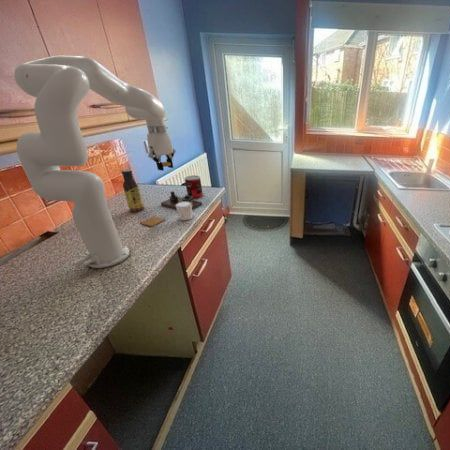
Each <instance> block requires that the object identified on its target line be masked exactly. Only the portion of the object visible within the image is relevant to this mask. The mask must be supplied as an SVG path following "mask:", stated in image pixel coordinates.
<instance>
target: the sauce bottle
mask: <svg viewBox="0 0 450 450" xmlns="http://www.w3.org/2000/svg"><path fill="white" fill-rule="evenodd" d="M121 175H122V177H123V183H122V187H123V192H124V196H125V199H126V203H127V206H128V208H129V211H130V212H135V213H136V212H141V211H142V210H143V209H145V207H144V202H143V198H142V195H141V191H140V187H139V185H138V184H137V182H136V180H135V179H134V176H133V171H132V169H122V170H121Z"/></svg>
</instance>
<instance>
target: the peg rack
mask: <svg viewBox="0 0 450 450" xmlns="http://www.w3.org/2000/svg"><path fill="white" fill-rule="evenodd" d="M169 193H170V196H169V197H168V198H169V199H166V200H163V201H162V202H160V205H161V206H163V207H167V208H170V209H175V210H177V209H176V206H175V205H176V204H177V203H179V202H185V201H182V197H181V196H178V195H177V194H175V191H174V190H171V191H170V192H169ZM184 197H185V198H186V199H189V195H188V194H184ZM187 202H191V205H192V211H193V210H194V209H197V208H198V207H200V206H202V205H203V202H202V201H198V200H194V199H193V200H191V201H187Z"/></svg>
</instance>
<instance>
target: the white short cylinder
mask: <svg viewBox="0 0 450 450" xmlns="http://www.w3.org/2000/svg"><path fill="white" fill-rule="evenodd" d="M175 206H176V209H175V210H176V212H177V214H178V217H179V220H181V221H188V220H191V219H192V218H193V210H192V205H191V202H186V201H185V202H179V203H177V204H176V205H175Z"/></svg>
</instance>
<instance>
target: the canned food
mask: <svg viewBox="0 0 450 450" xmlns="http://www.w3.org/2000/svg"><path fill="white" fill-rule="evenodd" d="M184 182H185V183H184V184H185V188H186V193H187V195H189V196H192V197H193V199H199V198H201V197H203V193H204V192H203V186H202V181H201V176H199V175H196V174H195V175H188V176H185V177H184Z"/></svg>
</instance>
